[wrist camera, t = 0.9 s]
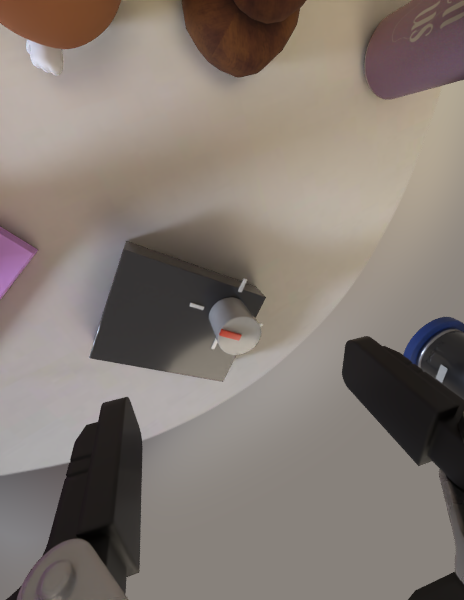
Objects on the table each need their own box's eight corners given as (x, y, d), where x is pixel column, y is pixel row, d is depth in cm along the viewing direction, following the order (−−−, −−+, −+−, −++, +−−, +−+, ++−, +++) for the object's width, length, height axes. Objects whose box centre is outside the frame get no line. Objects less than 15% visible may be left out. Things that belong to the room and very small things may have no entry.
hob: (268, 280, 31) (280, 291, 28) (224, 366, 34) (231, 384, 32) (129, 229, 25) (127, 236, 22) (94, 340, 28) (88, 359, 25)
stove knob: (253, 303, 28) (270, 324, 24) (237, 336, 29) (250, 361, 25) (218, 291, 26) (230, 312, 23) (202, 327, 27) (211, 352, 24)
